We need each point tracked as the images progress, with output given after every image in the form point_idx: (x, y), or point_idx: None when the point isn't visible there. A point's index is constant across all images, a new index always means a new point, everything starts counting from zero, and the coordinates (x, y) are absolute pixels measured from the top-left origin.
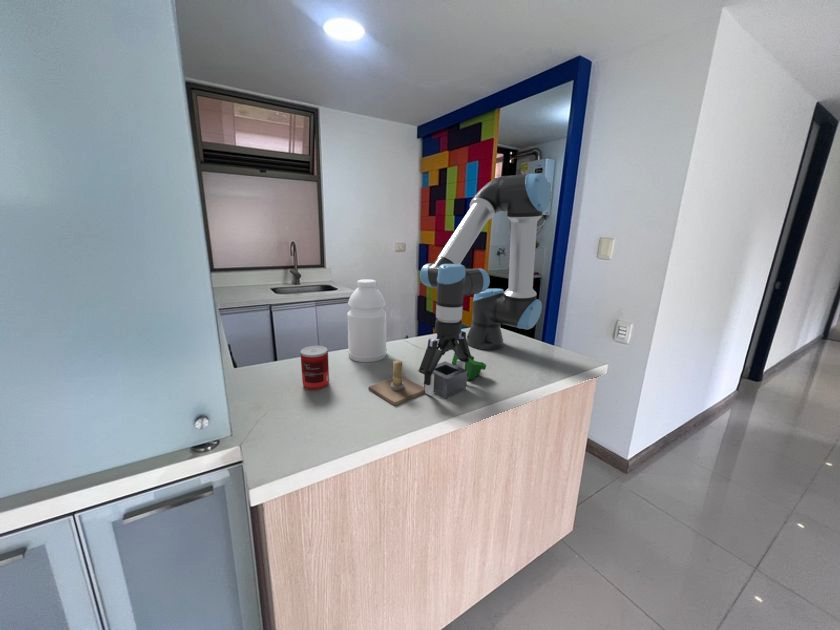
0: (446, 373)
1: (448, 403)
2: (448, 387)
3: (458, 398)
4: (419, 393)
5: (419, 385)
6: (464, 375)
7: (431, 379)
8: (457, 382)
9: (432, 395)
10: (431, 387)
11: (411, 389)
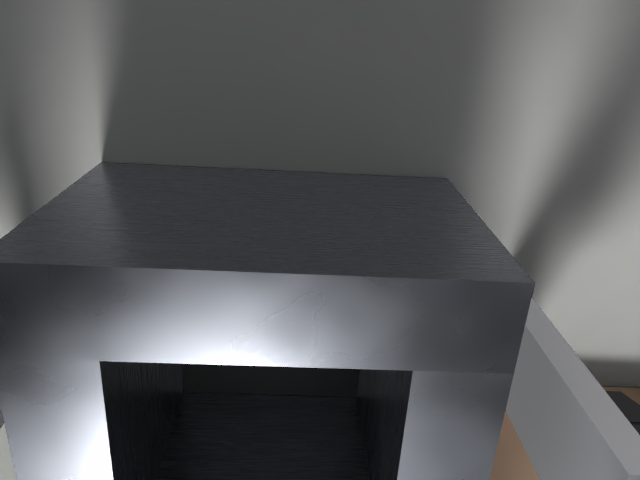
0: (155, 455)
1: (514, 97)
2: (447, 221)
3: (346, 88)
4: None
5: None
6: (84, 235)
7: (625, 430)
8: (261, 218)
9: None
10: (570, 355)
11: None
